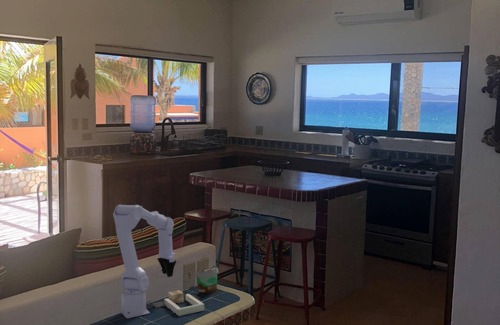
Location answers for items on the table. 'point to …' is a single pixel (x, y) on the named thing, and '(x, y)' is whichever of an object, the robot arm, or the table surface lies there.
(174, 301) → the birch block
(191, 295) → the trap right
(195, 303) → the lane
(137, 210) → the robot arm
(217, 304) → the table surface
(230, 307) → the table surface
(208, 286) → the food container
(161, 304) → the plate
